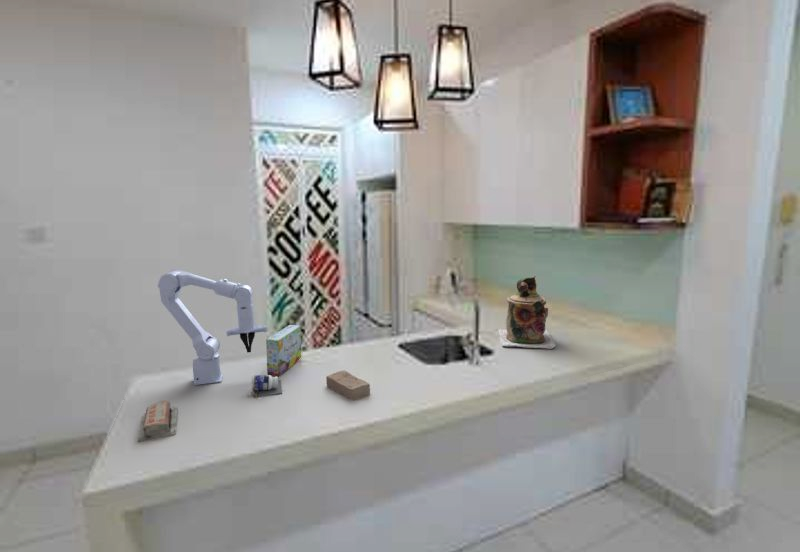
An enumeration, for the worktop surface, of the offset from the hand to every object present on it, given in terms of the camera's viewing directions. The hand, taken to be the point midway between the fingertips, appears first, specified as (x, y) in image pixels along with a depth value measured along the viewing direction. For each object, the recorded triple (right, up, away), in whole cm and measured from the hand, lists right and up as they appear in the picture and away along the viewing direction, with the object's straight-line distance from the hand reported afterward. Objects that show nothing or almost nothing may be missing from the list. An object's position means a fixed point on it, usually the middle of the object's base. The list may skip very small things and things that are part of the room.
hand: (249, 351), depth 173 cm
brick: (+39, -13, -10) cm, 42 cm away
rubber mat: (+10, -12, -8) cm, 18 cm away
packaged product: (-16, -17, -34) cm, 41 cm away
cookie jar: (+118, -2, +45) cm, 126 cm away
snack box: (+11, -9, +12) cm, 19 cm away
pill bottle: (+5, -9, -12) cm, 16 cm away
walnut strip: (+6, -12, -10) cm, 17 cm away
